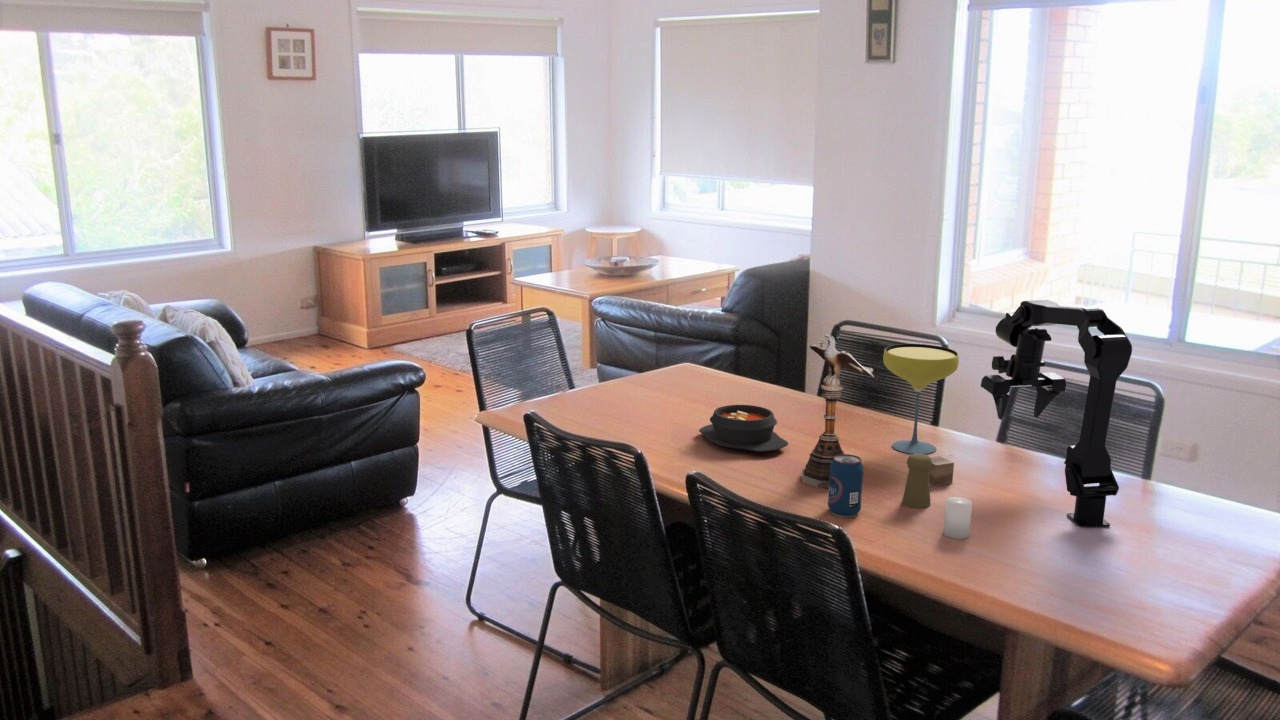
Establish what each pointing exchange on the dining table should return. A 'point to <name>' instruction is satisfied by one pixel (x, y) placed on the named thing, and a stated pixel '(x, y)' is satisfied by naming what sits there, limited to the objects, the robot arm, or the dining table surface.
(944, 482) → the walnut block
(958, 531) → the off-white cylinder
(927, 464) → the cork
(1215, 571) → the dining table surface
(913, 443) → the cocktail glass
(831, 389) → the bird statue
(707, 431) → the casserole
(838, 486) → the soda can
